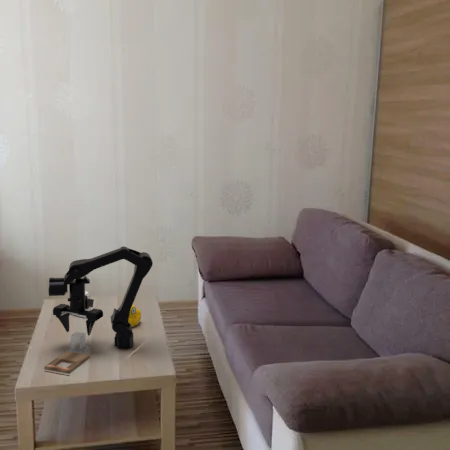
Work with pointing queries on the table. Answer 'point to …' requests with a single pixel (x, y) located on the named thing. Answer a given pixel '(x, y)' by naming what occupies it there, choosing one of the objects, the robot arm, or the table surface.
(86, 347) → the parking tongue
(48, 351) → the table surface
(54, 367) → the board
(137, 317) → the duckling
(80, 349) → the block
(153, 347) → the table surface
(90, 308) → the photo printer
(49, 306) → the table surface
